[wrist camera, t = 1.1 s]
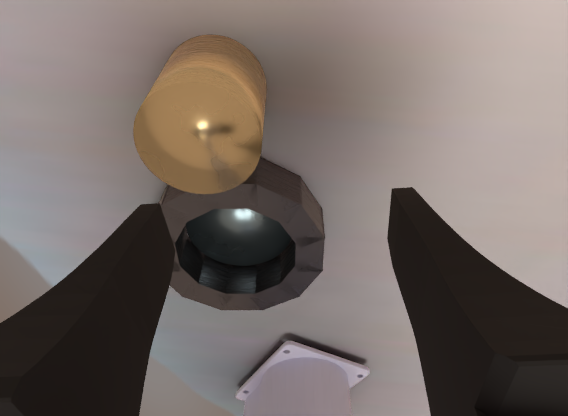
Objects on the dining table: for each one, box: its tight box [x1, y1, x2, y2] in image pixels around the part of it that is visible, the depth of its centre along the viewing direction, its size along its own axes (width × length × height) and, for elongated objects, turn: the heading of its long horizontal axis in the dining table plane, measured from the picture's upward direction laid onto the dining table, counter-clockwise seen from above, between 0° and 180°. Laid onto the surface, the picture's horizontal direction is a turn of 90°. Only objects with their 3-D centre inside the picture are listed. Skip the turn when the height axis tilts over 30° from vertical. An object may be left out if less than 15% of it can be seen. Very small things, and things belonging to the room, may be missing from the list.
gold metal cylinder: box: [133, 35, 267, 194], centre depth 19 cm, size 5×5×6 cm
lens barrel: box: [159, 158, 325, 310], centre depth 26 cm, size 10×10×3 cm
